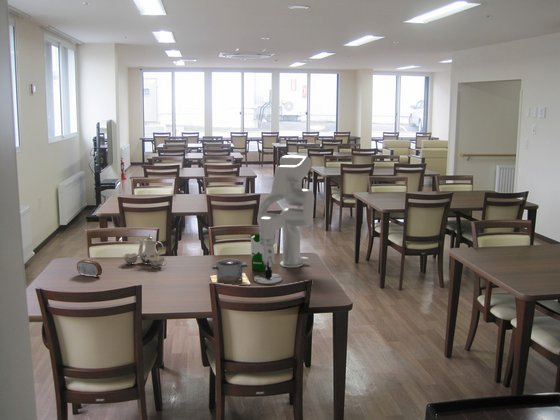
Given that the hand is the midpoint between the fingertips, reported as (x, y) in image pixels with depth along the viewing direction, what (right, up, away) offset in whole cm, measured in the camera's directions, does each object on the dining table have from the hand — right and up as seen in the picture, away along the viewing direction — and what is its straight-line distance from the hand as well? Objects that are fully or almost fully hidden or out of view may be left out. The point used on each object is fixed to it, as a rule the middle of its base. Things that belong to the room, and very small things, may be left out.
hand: (267, 276), depth 293 cm
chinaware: (-68, +3, +31) cm, 75 cm away
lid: (0, -2, 0) cm, 2 cm away
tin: (-93, -1, +10) cm, 94 cm away
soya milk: (-4, +2, +19) cm, 20 cm away
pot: (-19, -2, -1) cm, 19 cm away
